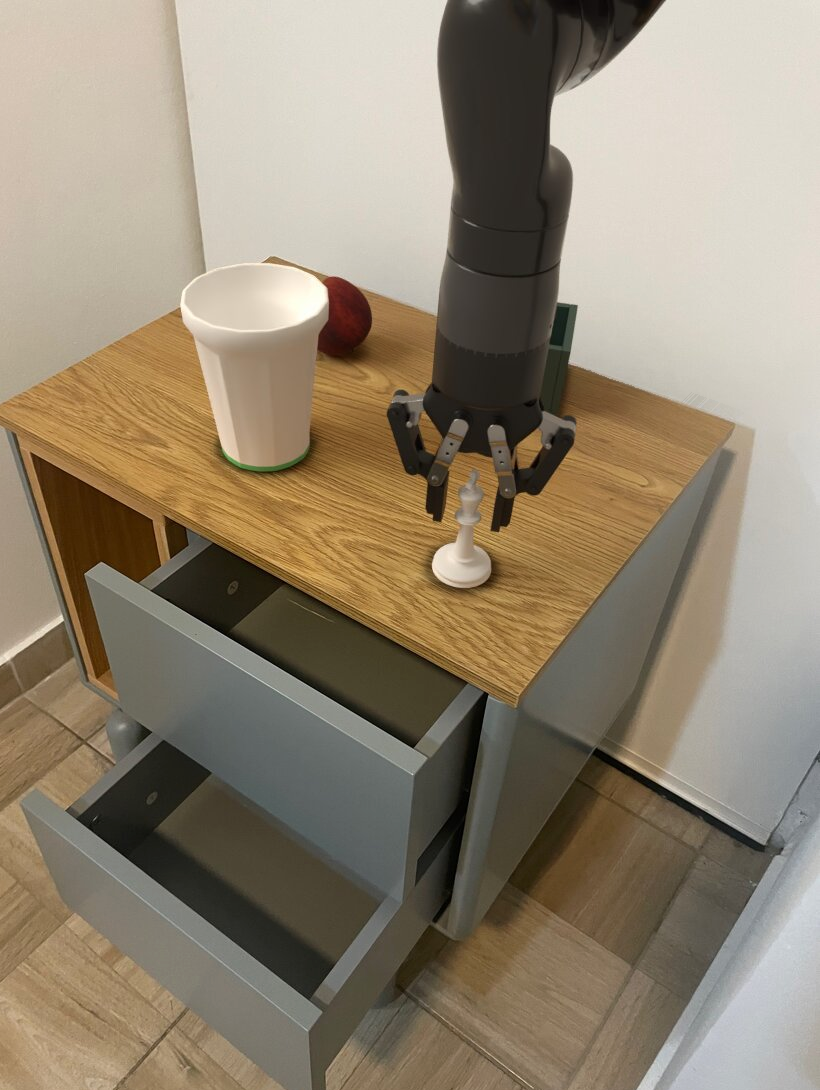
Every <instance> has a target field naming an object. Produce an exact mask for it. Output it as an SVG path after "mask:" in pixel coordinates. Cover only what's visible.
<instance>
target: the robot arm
mask: <svg viewBox="0 0 820 1090" xmlns="http://www.w3.org/2000/svg"><path fill="white" fill-rule="evenodd" d="M666 1H667V0H446V4H445V6H444V10H443V14H442V17H441V22H440V25H439V31H438V37H437V46H436V67H437V68H436V69H437V81H438V88H439V90H438V91H439V96H440V104H441V112H442V119H443V127H444V134H445V143H446V148H447V152H448V159H449V164H450V168H451V173H452V191H451V196H450V197H451V199H450V209H449V221H448V222H449V223H448V233H447V243H446V244H447V245H446V251H445V258H444V263H443V267H442V271H441V276H440V282H439V289H438V290H439V291H438V301H437V312H436V313H437V314H436V327H435V336H434V337H435V338H434V349H433V362H432V374H431V382H430V384H429V385H428V386H427V388H426V390H425V392H422V393H416V394H409V392H408V391H406V390H405V389H397V390H396V391H395V392H394V393H393V396H392V398H391V400H390V403H389V405H388V408H387V410H386V417H387V420H388V424H389V427H390V429H391V430H390V431H391V433H392V436H393V439H394V442H395V445H396V449H397V451H398V455H399V457H400V460H401V464H402V467H403V469H404V472H405V473H406V474H407V475H410V476H417V475H418V476H421V477H422V478H424V479H425V481H426V484H427V485H426V495H425V496H426V497H425V507H424V508H425V511H426V514H429V515H432V522H435V523H442V522H443V519H444V515H445V511H446V506H447V498H448V487H449V479H450V470H449V469H450V468H451V466H452V464H453V462H454V460H455V458H456V455H457V453H460V454H478V455H481V456H482V457H485V458H492V463H493V468H494V474H495V475H496V476H497V482H498V485H497V489H496V494H495V500H494V505H493V511H492V518H491V523H490V530H489V531H490V532H493V533H500V531H501V527H502V528H508V527H509V525H510V523H511V520H512V515H513V510H514V504H515V500H516V497H517V496H518V495H520V494H524V493H526V494H527V495H529V496H532V497H533V496H534V497H536V496H539V495H540V494H541V493H542V492H543V490H544V488H545V487H546V485H547V484H549V481H550V480H551V478H552V477H553V475H554V474H555V472H556V471H557V469H558V468H559V466H560V465H561V464H562V462H563V460H564V459H565V457H566V456H567V455H568V453H569V452H570V450H571V449H572V447H573V446H574V444H575V440H576V439H575V438H576V433H577V423H578V422H577V419H576V417H574V416H573V415H571V414H566V415H563V416H562V417H561V418H560V417H559V416H557V417H556V416H554V415H552V414H550V413H547V412H545V411H544V405H543V402H542V400H541V396H540V392H541V386H542V381H543V375H544V370H545V365H546V359H547V354H548V349H549V343H550V337H551V333H552V327H553V322H554V319H555V318H556V312H557V306H556V305H557V302H558V299H559V292H560V271H561V263H562V256H563V250H564V244H565V239H566V234H567V230H568V229H567V228H568V222H569V216H570V213H571V212H570V211H571V207H572V206H571V205H572V197H573V189H574V188H573V187H574V172H573V167H572V164H571V162H570V160H569V158H568V157H567V155H566V153H564V152H563V151H562V150H561V149H560V148H558V147H557V146H554V145H553V144H551V120H552V119H551V117H552V116H551V115H552V108H553V105H554V100H555V97H558V96H559V95H562V94H565V93H566V92H569V91H571V90H575V89H576V88H578V87H580V86H581V85H583V84H586V82H588V81H590V80H591V79H592V78H594V77H595V76H596V75H598V74H599V73H600V72H601V71H602V70H604V69H605V68H606V67H607V66H608V65H609V64H610V63H612V61H614V60H615V59H616V58H617V57H618V56H619V55H620V54H621V53H622V52H623V51H624V50H625V49H626V48H627V47H628V46H629V45H630V44H631V43H632V42H633V40H635V39H636V37H637V36H638V35H639V34H640V32H642V30H643V29H644V28H645V27H646V26H647V25H648V23H649V22H650V21H651V20H652V18H653V17H654V16H655V15H656V13H657V12H658V11H659V10H660V9H661V8H662V7H663V5H664V4H665V2H666ZM423 412H425V414H426V415H427V416H428V418H429V420H430V421H431V423H432V424H433V426H434V427H435V428H436V430H437V432H438V433H439V435H440V436H441V439H440V443H438V444H439V445H438V446H437V449H436V451H435V454H433V453H431V452H428V451H427V449H426V445H425V443H424V439H423V436H422V432H421V428H420V425H419V424H420V420H421V417H422V414H423ZM537 429H538V430H539V431H540V432H541V435H540V443H541V446H542V447H541V448H540V449H539V451H538V452H537V454H536V456H534V457H535V458H534V459H533V461H532V462H531V464H530V465H529V467H523V468H522V467H521V468H520V464H519V456H518V445H519V444H521V443H522V442H523V441H524V440H525V439H526V438H528V437H529V436H530V435H531V434H533V433H534V432H535V431H536V430H537Z"/></svg>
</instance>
